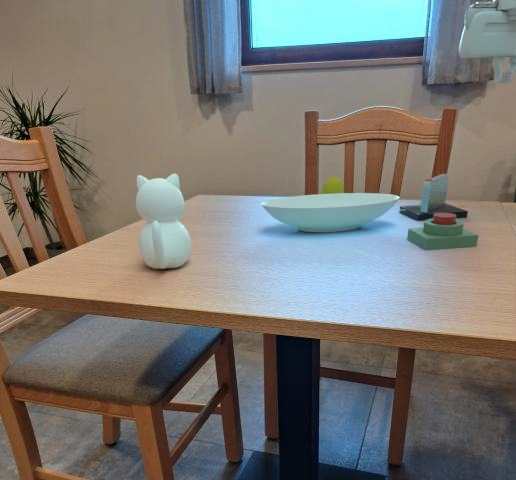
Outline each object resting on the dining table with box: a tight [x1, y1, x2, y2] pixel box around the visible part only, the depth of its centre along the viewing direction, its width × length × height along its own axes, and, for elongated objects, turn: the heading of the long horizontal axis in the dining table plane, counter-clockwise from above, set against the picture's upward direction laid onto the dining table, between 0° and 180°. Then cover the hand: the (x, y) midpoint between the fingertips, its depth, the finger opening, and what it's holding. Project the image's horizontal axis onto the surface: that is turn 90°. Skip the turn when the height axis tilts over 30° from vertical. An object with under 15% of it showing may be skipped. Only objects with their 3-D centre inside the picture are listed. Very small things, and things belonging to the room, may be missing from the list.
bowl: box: [261, 192, 400, 233], centre depth 100 cm, size 30×15×6 cm, turn 97°
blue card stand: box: [420, 173, 450, 213], centre depth 108 cm, size 12×2×7 cm, turn 142°
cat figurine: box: [135, 173, 192, 270], centre depth 78 cm, size 9×12×15 cm
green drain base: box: [406, 218, 479, 251], centre depth 88 cm, size 10×8×4 cm
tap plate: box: [399, 201, 469, 222], centre depth 110 cm, size 16×16×2 cm
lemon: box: [321, 175, 345, 194], centre depth 119 cm, size 6×6×8 cm
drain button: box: [433, 213, 457, 225], centre depth 87 cm, size 4×4×2 cm
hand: (502, 82), depth 96 cm, fingers closed
